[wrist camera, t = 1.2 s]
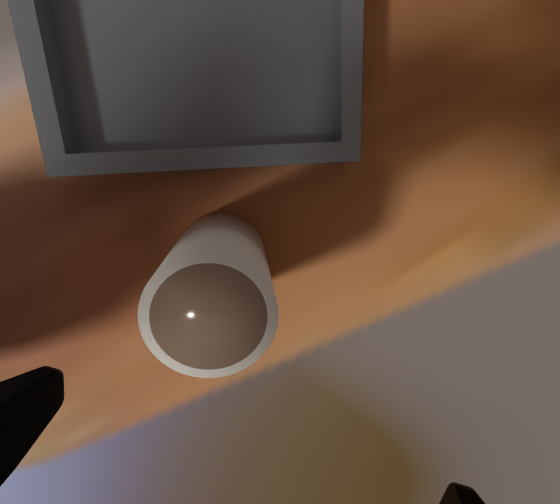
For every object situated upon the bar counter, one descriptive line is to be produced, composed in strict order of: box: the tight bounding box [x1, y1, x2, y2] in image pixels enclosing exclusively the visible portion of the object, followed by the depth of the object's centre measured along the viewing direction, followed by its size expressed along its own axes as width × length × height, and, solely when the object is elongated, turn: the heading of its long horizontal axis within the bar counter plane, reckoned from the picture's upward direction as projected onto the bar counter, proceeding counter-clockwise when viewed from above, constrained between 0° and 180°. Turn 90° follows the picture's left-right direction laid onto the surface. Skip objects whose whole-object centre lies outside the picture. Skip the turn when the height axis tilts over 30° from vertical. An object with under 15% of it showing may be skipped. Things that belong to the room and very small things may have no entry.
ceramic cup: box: [138, 213, 278, 378], centre depth 17 cm, size 5×5×8 cm
